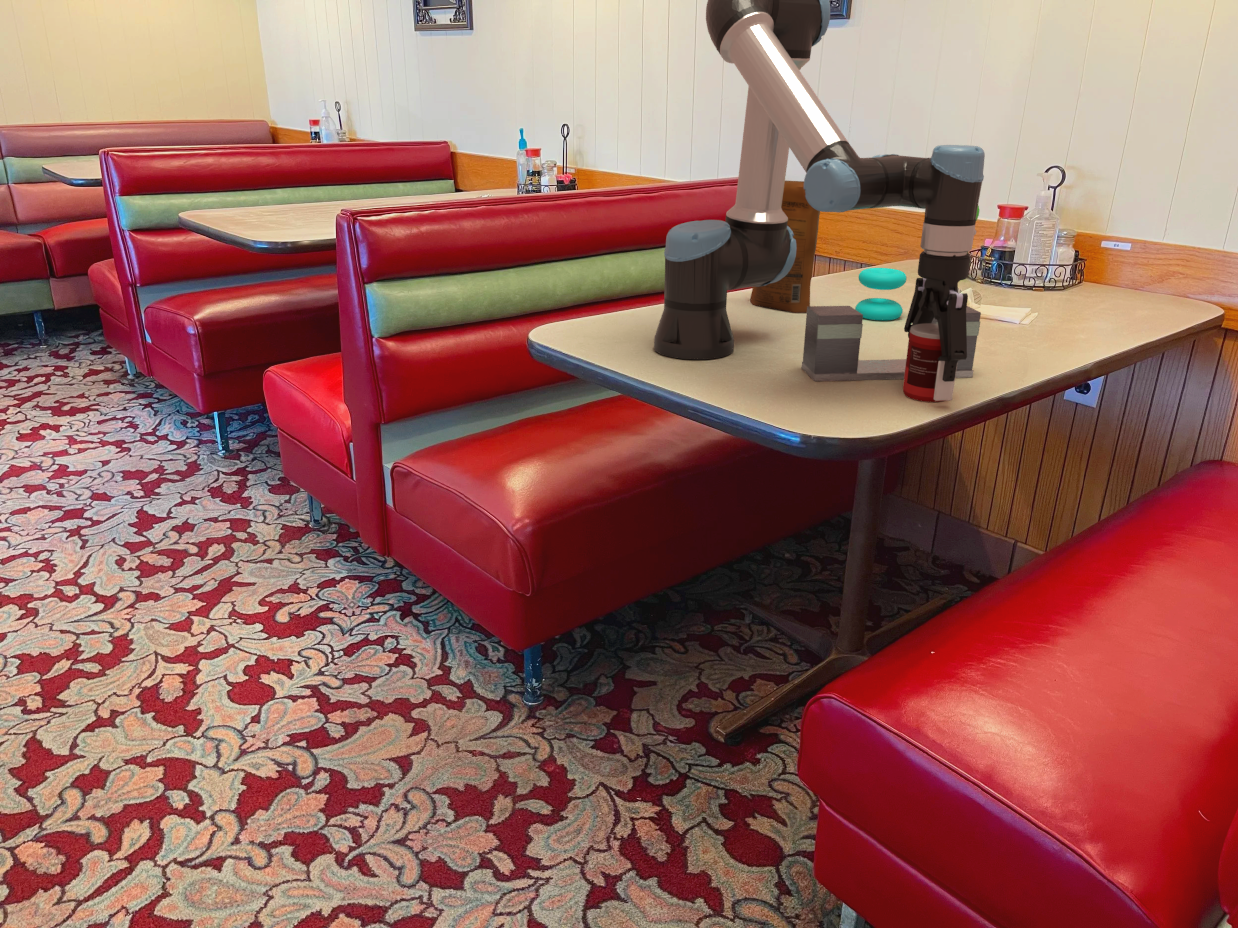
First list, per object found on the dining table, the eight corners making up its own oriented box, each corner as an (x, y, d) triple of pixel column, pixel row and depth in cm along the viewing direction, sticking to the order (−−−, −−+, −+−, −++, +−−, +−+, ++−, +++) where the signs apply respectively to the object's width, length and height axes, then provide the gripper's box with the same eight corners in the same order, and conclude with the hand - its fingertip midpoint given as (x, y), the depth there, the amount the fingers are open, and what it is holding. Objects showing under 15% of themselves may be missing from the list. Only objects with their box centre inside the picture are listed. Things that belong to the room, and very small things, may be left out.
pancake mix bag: (804, 317, 202) (815, 183, 191) (734, 304, 214) (740, 177, 203) (821, 312, 206) (832, 181, 196) (751, 299, 218) (758, 175, 208)
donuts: (906, 268, 202) (908, 276, 193) (900, 313, 206) (902, 323, 197) (859, 265, 204) (859, 274, 195) (854, 310, 208) (854, 320, 199)
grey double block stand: (814, 381, 158) (819, 316, 153) (801, 368, 165) (806, 305, 161) (972, 377, 160) (982, 313, 156) (952, 364, 168) (961, 303, 163)
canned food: (940, 387, 155) (950, 323, 150) (958, 402, 147) (969, 335, 143) (895, 388, 154) (903, 323, 150) (911, 403, 147) (919, 335, 143)
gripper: (1006, 265, 132) (982, 411, 140) (937, 240, 153) (921, 367, 162) (955, 265, 131) (935, 412, 139) (893, 240, 153) (879, 368, 161)
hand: (927, 388), depth 150 cm, fingers open, 11 cm apart
